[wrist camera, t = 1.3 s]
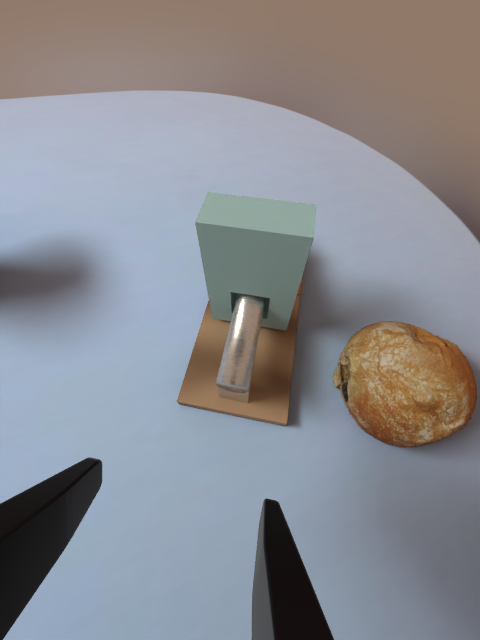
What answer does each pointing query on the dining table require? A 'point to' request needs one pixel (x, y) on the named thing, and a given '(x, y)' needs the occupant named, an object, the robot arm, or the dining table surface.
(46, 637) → the dining table surface
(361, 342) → the bread roll
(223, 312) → the sage green slotted block
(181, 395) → the walnut board
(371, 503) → the dining table surface
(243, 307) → the grey metal pipe
